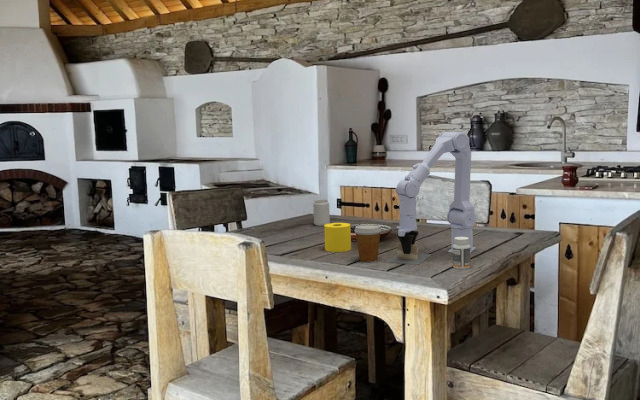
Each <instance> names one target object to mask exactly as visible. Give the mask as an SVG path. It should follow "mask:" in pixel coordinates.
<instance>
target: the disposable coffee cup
mask: <svg viewBox="0 0 640 400" xmlns="http://www.w3.org/2000/svg"><path fill="white" fill-rule="evenodd" d="M354 232H355V236H356V237H355V238H356V244H357V245H356V246H357V250H358V251H357V252H358V258H359V261H360V262H365V263H367V262H375V261H378V259H379V257H378V256H379V251H380V250H379V247H380V239H381V238H380V237H381V233H382V229H381V225H378V224H371V223H370V224H366V223H365V224H360V225H359V224H358V225H356V226H355V229H354Z"/></svg>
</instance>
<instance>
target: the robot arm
mask: <svg viewBox="0 0 640 400" xmlns="http://www.w3.org/2000/svg"><path fill="white" fill-rule="evenodd" d="M446 153H450V154H451V155H452V156H453V157H454V158H455V161H454V163H455V164H454V165H455V166H454V185H453V186H454V191H453V193H454V194H453V201H452V202H451V203H450V204H449V208H448V211H447V214H446V219H447V222H448V223H449V224H450V225H449V226H450V228H451V230H450V231H451V233H450V234H451V240H450V241H451V242H450V243H451V244H450V245H451V248H450V249H449V250H448V251H447V252H448V253H453V245H454V244H455V242H454V238H455V237H468V238H469V242H468V244H469V245H470V254H471V253H472V252H473V251H475V250H476V248H477V247H475V246H474V240H473V239H474V232H473V228H474V227H473V226H475V224H476V222H477V215H476V213H475V206H474V205H473V204H472V203H471V202H470V198H471V196H470V195H471V194H470V193H471V192H470V191H471V173H472V172H471V170H472V149H471V147H470V137H469V136H468V135H467V134H466V133H465V132H464V131H443V132H441V133H440V134H439V136H438V137H436V139H435V142H434V145H433V146H432V147H431V149H430V150H429V151H428V153H427V154H426V156H425V158H424V159H423V160H422V162H417V163H416V164H413V166H412V168H411V170H410V172H409V173H408V174H407V175H406V176H405V177H404V179H401V180H400V181H399V182H398V183H397V185H396V187H395V193H396V194H397V196H398V197H397V198H398V201H399V203H398V205H399V211H398V212H399V225H397V226H396V227H395V228H396V229H397V238H398V240H399V242H400V244H401V245H402V249H403V253H404V254H410V251H411V244H415V245H416V240H417V237H418V235H419V231H417V229H418V224H417V195H419V193H420V190H421V189H420V188H421V186H422V185H423V183H424V182H425V181H426V179H427V178H428V177H429V175H430V174H431V169H430V168H432V166H434V165H435V164H436V162H437V161H438V160H439V159H440V158H441V157H442V156H443V155H444V154H446Z"/></svg>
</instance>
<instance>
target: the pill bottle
mask: <svg viewBox="0 0 640 400" xmlns="http://www.w3.org/2000/svg"><path fill="white" fill-rule="evenodd" d="M454 242H455V244H454V245H453V252H452V267H453V268H454V269H458V270H459V269H460V270H467V269H470V268H471V265H472V264H471V253H470V245H469V244H468V242H469V238H468V237H455V238H454Z"/></svg>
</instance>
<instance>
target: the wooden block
mask: <svg viewBox="0 0 640 400" xmlns="http://www.w3.org/2000/svg"><path fill="white" fill-rule="evenodd" d="M396 247H397V249H396V253H397V254H396V255H397V258H401V259H413V260H417V259H418V253H419V245H418V244H416V243H415V244H411V251H410V254H404V253H403V249H402V245H401V242H400V243H397V245H396Z"/></svg>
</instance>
